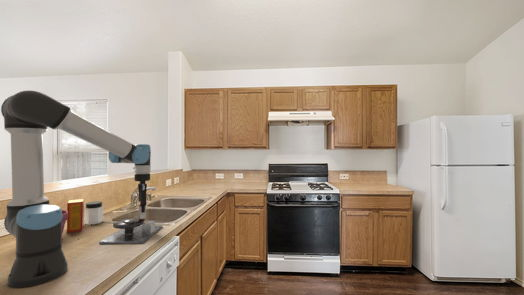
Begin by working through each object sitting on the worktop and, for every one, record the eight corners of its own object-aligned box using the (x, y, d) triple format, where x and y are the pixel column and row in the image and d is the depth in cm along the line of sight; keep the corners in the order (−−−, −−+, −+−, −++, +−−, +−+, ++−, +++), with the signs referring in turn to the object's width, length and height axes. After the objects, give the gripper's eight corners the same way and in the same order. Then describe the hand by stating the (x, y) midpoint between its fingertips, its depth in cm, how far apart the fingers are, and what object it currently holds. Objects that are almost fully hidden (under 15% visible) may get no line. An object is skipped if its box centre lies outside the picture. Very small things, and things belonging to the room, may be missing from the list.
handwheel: (147, 224, 135) (147, 197, 135) (142, 235, 119) (143, 204, 119) (118, 227, 130) (118, 199, 131) (109, 238, 114) (109, 206, 114)
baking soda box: (69, 227, 134) (69, 199, 134) (83, 225, 137) (84, 198, 138) (66, 232, 126) (67, 202, 126) (82, 230, 130) (82, 201, 130)
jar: (84, 225, 138) (84, 204, 138) (85, 222, 145) (85, 202, 145) (102, 223, 143) (103, 203, 143) (102, 219, 150) (103, 200, 150)
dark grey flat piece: (142, 243, 111) (143, 229, 111) (99, 244, 111) (99, 230, 111) (162, 227, 135) (162, 215, 135) (126, 227, 135) (126, 215, 135)
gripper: (133, 172, 133) (132, 213, 132) (136, 175, 116) (135, 222, 116) (148, 171, 137) (147, 212, 136) (152, 174, 120) (152, 220, 120)
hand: (142, 216), depth 126 cm, fingers open, 6 cm apart
